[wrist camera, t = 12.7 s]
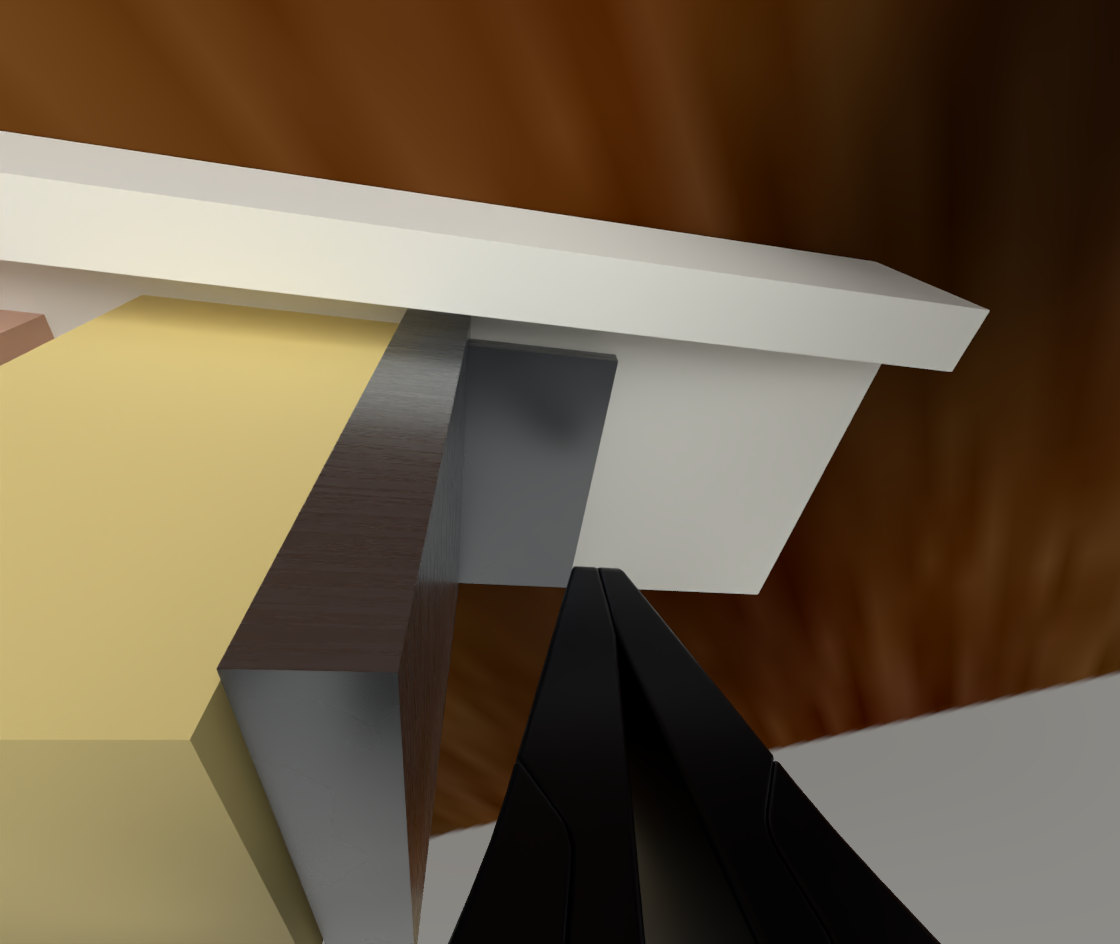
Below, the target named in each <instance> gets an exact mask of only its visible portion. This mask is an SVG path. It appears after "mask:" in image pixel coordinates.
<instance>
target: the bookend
mask: <svg viewBox="0 0 1120 944" xmlns="http://www.w3.org/2000/svg"><path fill="white" fill-rule="evenodd" d="M470 333H471V315H464V314H456V313H447V312H439V311H430V310H422V309H413V308H408V309H407V311H406V312H405V314H404V316H403V318H402V320H401V322H400V324H399V326H398V328H397V329H396V331H395V333H394V335H393V337H392V339H391V341H390V343H389V344H388V346H387V348H386V350H385V352H384V354H383V356H382V358H381V360H380V361H379V363H378V365H377V367H376V369H375V371H374V373H373V375H372V377H371V378H370V380H369V382H368V384H367V386H366V388H365V390H364V392H363V393H362V395H361V397H360V399H359V401H358V403H357V405H356V407H355V409H354V410H353V412H352V414H351V416H350V418H349V420H348V422H347V424H346V425H345V427H344V429H343V431H342V433H341V435H340V437H339V439H338V441H337V442H336V444H335V446H334V448H333V450H332V452H331V454H330V456H329V458H328V459H327V461H326V463H325V465H324V467H323V469H322V471H321V473H320V474H319V476H318V478H317V480H316V482H315V484H314V486H313V488H312V490H311V491H310V493H309V495H308V497H307V499H306V501H305V503H304V505H303V507H302V508H301V510H300V512H299V514H298V516H297V518H296V520H295V522H294V523H293V525H292V527H291V529H290V531H289V533H288V535H287V537H286V539H285V540H284V542H283V544H282V546H281V548H280V550H279V552H278V554H277V556H276V557H275V559H274V561H273V563H272V565H271V567H270V569H269V571H268V572H267V574H266V576H265V578H264V580H263V582H262V584H261V586H260V588H259V589H258V591H257V593H256V595H255V597H254V599H253V601H252V603H251V605H250V606H249V608H248V610H247V612H246V614H245V616H244V618H243V620H242V621H241V623H240V625H239V627H238V629H237V631H236V633H235V635H234V637H233V638H232V640H231V642H230V644H229V646H228V648H227V650H226V652H225V654H224V655H223V657H222V659H221V661H220V663H219V665H218V667H217V669H216V670H217V672H218V675H219V677H220V680H221V682H222V685H223V687H224V690H225V692H226V695H227V697H228V700H229V702H230V705H231V707H232V710H233V713H234V715H235V718H236V720H237V723H238V725H239V728H240V730H241V733H242V735H243V738H244V740H245V743H246V745H247V748H248V750H249V753H250V755H251V758H252V760H253V763H254V766H255V768H256V771H257V773H258V776H259V778H260V781H261V783H262V786H263V788H264V791H265V793H266V796H267V798H268V801H269V803H270V806H271V808H272V811H273V814H274V816H275V819H276V821H277V824H278V826H279V829H280V831H281V834H282V836H283V839H284V841H285V844H286V846H287V849H288V851H289V854H290V856H291V859H292V861H293V864H294V867H295V869H296V872H297V874H298V877H299V879H300V882H301V884H302V887H303V889H304V892H305V894H306V897H307V899H308V902H309V904H310V907H311V909H312V912H313V915H314V917H315V920H316V922H317V925H318V927H319V930H320V932H321V935H322V937H323V940H324V942H325V944H417V940H418V933H419V924H420V914H421V907H422V897H423V889H424V881H425V872H426V862H427V855H428V846H429V838H430V829H431V820H432V812H433V803H434V794H435V786H436V777H437V768H438V760H439V751H440V743H441V734H442V725H443V717H444V708H445V699H446V691H447V682H448V673H449V665H450V656H451V648H452V639H453V630H454V622H455V613H456V604H457V596H458V587H459V583H473V584H496V585H519V586H541V587H564V588H566V587H567V584H568V580H569V577H570V573H571V570H572V567H573V562H574V558H575V553H576V549H577V544H578V540H579V535H580V531H581V526H582V522H583V517H584V513H585V508H586V504H587V499H588V495H589V490H590V486H591V481H592V477H593V472H594V468H595V463H596V459H597V455H598V450H599V446H600V441H601V437H602V432H603V428H604V423H605V419H606V414H607V410H608V405H609V401H610V396H611V392H612V387H613V383H614V378H615V374H616V369H617V365H618V360H617V357H616V355H615V354H606V353H597V352H588V351H579V350H570V349H561V348H552V347H543V346H534V345H525V344H516V343H507V342H498V341H489V340H480V339H471V338H470Z"/></svg>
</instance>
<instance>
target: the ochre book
mask: <svg viewBox="0 0 1120 944" xmlns="http://www.w3.org/2000/svg"><path fill="white" fill-rule="evenodd" d="M399 324H400V323H391V322H382V321H373V320H364V319H355V318H346V317H337V316H328V315H319V314H310V313H301V312H292V311H283V310H275V309H266V308H257V307H248V306H239V305H230V304H221V303H212V302H203V301H194V300H185V299H176V298H167V297H158V296H149V295H141V296H139V297H137V298H135V299H133V300H131V301H129V302H127V303H125V304H123V305H121V306H119V307H117V308H115V309H113V310H111V311H109V312H107V313H105V314H103V315H101V316H99V317H97V318H95V319H93V320H91V321H89V322H87V323H85V324H83V325H81V326H79V327H77V328H75V329H73V330H71V331H69V332H67V333H65V334H63V335H61V336H59V337H57V338H55V339H53V340H51V341H49V342H47V343H45V344H43V345H41V346H39V347H37V348H35V349H33V350H31V351H29V352H27V353H25V354H23V355H21V356H19V357H17V358H15V359H13V360H11V361H9V362H7V363H5V364H3V365H1V366H0V944H322V942H323V937H322V935H321V932H320V930H319V927H318V925H317V922H316V920H315V917H314V915H313V912H312V909H311V907H310V904H309V902H308V899H307V897H306V894H305V892H304V889H303V887H302V884H301V882H300V879H299V877H298V874H297V872H296V869H295V867H294V864H293V861H292V859H291V856H290V854H289V851H288V849H287V846H286V844H285V841H284V839H283V836H282V834H281V831H280V829H279V826H278V824H277V821H276V819H275V816H274V814H273V811H272V808H271V806H270V803H269V801H268V798H267V796H266V793H265V791H264V788H263V786H262V783H261V781H260V778H259V776H258V773H257V771H256V768H255V766H254V763H253V760H252V758H251V755H250V753H249V750H248V748H247V745H246V743H245V740H244V738H243V735H242V733H241V730H240V728H239V725H238V723H237V720H236V718H235V715H234V713H233V710H232V707H231V705H230V702H229V700H228V697H227V695H226V692H225V690H224V687H223V685H222V682H221V680H220V677H219V675H218V672H217V670H216V669H217V667H218V665H219V663H220V661H221V659H222V657H223V655H224V654H225V652H226V650H227V648H228V646H229V644H230V642H231V640H232V638H233V637H234V635H235V633H236V631H237V629H238V627H239V625H240V623H241V621H242V620H243V618H244V616H245V614H246V612H247V610H248V608H249V606H250V605H251V603H252V601H253V599H254V597H255V595H256V593H257V591H258V589H259V588H260V586H261V584H262V582H263V580H264V578H265V576H266V574H267V572H268V571H269V569H270V567H271V565H272V563H273V561H274V559H275V557H276V556H277V554H278V552H279V550H280V548H281V546H282V544H283V542H284V540H285V539H286V537H287V535H288V533H289V531H290V529H291V527H292V525H293V523H294V522H295V520H296V518H297V516H298V514H299V512H300V510H301V508H302V507H303V505H304V503H305V501H306V499H307V497H308V495H309V493H310V491H311V490H312V488H313V486H314V484H315V482H316V480H317V478H318V476H319V474H320V473H321V471H322V469H323V467H324V465H325V463H326V461H327V459H328V458H329V456H330V454H331V452H332V450H333V448H334V446H335V444H336V442H337V441H338V439H339V437H340V435H341V433H342V431H343V429H344V427H345V425H346V424H347V422H348V420H349V418H350V416H351V414H352V412H353V410H354V409H355V407H356V405H357V403H358V401H359V399H360V397H361V395H362V393H363V392H364V390H365V388H366V386H367V384H368V382H369V380H370V378H371V377H372V375H373V373H374V371H375V369H376V367H377V365H378V363H379V361H380V360H381V358H382V356H383V354H384V352H385V350H386V348H387V346H388V344H389V343H390V341H391V339H392V337H393V335H394V333H395V331H396V329H397V328H398V326H399Z"/></svg>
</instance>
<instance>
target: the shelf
mask: <svg viewBox="0 0 1120 944" xmlns="http://www.w3.org/2000/svg"><path fill="white" fill-rule="evenodd" d="M141 295H149V296H158V297H167V298H176V299H185V300H194V301H203V302H212V303H221V304H230V305H239V306H248V307H257V308H266V309H275V310H283V311H292V312H301V313H310V314H319V315H328V316H337V317H346V318H355V319H364V320H373V321H382V322H391V323H400V322H401V320H402V318H403V316H404V314H405V312H406V311H407V309H408V308H413V309H422V310H430V311H439V312H447V313H456V314H464V315H471V333H470V338H471V339H480V340H489V341H498V342H507V343H516V344H525V345H534V346H543V347H552V348H561V349H570V350H579V351H588V352H597V353H606V354H615V355H616V357H617V360H618V365H617V369H616V374H615V378H614V383H613V387H612V392H611V396H610V401H609V405H608V410H607V414H606V419H605V423H604V428H603V432H602V437H601V441H600V446H599V450H598V455H597V459H596V463H595V468H594V472H593V477H592V481H591V486H590V490H589V495H588V499H587V504H586V508H585V513H584V517H583V522H582V526H581V531H580V535H579V540H578V544H577V549H576V553H575V558H574V562H573V567H575V566H585V567H596V568H599V567H605V568H619V569H621V570H623V571H624V572H625V573H626V575H627V576H628V577H629V578H630V580H631V581H632V582H633V583H634V585H635V586H636V587H637V588H638V589H645V590H668V591H690V592H712V593H735V594H757V595H758V593H759V592H760V590H761V588H762V586H763V584H764V582H765V580H766V579H767V577H768V575H769V573H770V571H771V569H772V567H773V565H774V564H775V562H776V560H777V558H778V556H779V554H780V552H781V551H782V549H783V547H784V545H785V543H786V541H787V539H788V537H789V536H790V534H791V532H792V530H793V528H794V526H795V524H796V522H797V521H798V519H799V517H800V515H801V513H802V511H803V509H804V508H805V506H806V504H807V502H808V500H809V498H810V496H811V494H812V493H813V491H814V489H815V487H816V485H817V483H818V481H819V480H820V478H821V476H822V474H823V472H824V470H825V468H826V466H827V465H828V463H829V461H830V459H831V457H832V455H833V453H834V451H835V450H836V448H837V446H838V444H839V442H840V440H841V438H842V437H843V435H844V433H845V431H846V429H847V427H848V425H849V423H850V422H851V420H852V418H853V416H854V414H855V412H856V410H857V409H858V407H859V405H860V403H861V401H862V399H863V397H864V395H865V394H866V392H867V390H868V388H869V386H870V384H871V382H872V380H873V379H874V377H875V375H876V373H877V371H878V369H879V367H880V366H881V364H888V365H897V366H905V367H914V368H922V369H931V370H939V371H948V372H952V371H953V369H954V368H955V366H956V364H957V363H958V361H959V360H960V358H961V356H962V355H963V353H964V352H965V350H966V348H967V347H968V345H969V344H970V342H971V340H972V339H973V337H974V336H975V334H976V332H977V331H978V329H979V328H980V326H981V324H982V323H983V321H984V320H985V318H986V316H987V315H988V313H989V312H990V310H988V309H986V308H983V307H981V306H979V305H976V304H974V303H972V302H969V301H967V300H964V299H962V298H960V297H957V296H955V295H953V294H950V293H948V292H946V291H943V290H941V289H939V288H936V287H934V286H932V285H929V284H927V283H924V282H922V281H920V280H917V279H915V278H913V277H910V276H908V275H906V274H903V273H901V272H899V271H896V270H894V269H892V268H889V267H887V266H884V265H882V264H880V263H877V262H875V261H868V260H861V259H854V258H848V257H841V256H834V255H828V254H821V253H814V252H808V251H801V250H794V249H787V248H781V247H774V246H767V245H761V244H754V243H747V242H741V241H734V240H727V239H721V238H714V237H707V236H700V235H694V234H687V233H680V232H674V231H667V230H660V229H654V228H647V227H640V226H634V225H627V224H620V223H613V222H607V221H600V220H593V219H587V218H580V217H573V216H567V215H560V214H553V213H546V212H540V211H533V210H526V209H520V208H513V207H506V206H500V205H493V204H486V203H480V202H473V201H466V200H459V199H453V198H446V197H439V196H433V195H426V194H419V193H413V192H406V191H399V190H393V189H386V188H379V187H372V186H366V185H359V184H352V183H346V182H339V181H332V180H326V179H319V178H312V177H305V176H299V175H292V174H285V173H279V172H272V171H265V170H259V169H252V168H245V167H239V166H232V165H225V164H218V163H212V162H205V161H198V160H192V159H185V158H178V157H172V156H165V155H158V154H152V153H145V152H138V151H131V150H125V149H118V148H111V147H105V146H98V145H91V144H85V143H78V142H71V141H64V140H58V139H51V138H44V137H38V136H31V135H24V134H18V133H11V132H4V131H0V366H1V365H3V364H5V363H7V362H9V361H11V360H13V359H15V358H17V357H19V356H21V355H23V354H25V353H27V352H29V351H31V350H33V349H35V348H37V347H39V346H41V345H43V344H45V343H47V342H49V341H51V340H53V339H55V338H57V337H59V336H61V335H63V334H65V333H67V332H69V331H71V330H73V329H75V328H77V327H79V326H81V325H83V324H85V323H87V322H89V321H91V320H93V319H95V318H97V317H99V316H101V315H103V314H105V313H107V312H109V311H111V310H113V309H115V308H117V307H119V306H121V305H123V304H125V303H127V302H129V301H131V300H133V299H135V298H137V297H139V296H141ZM573 567H572V568H573Z"/></svg>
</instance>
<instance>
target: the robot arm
mask: <svg viewBox="0 0 1120 944" xmlns="http://www.w3.org/2000/svg"><path fill="white" fill-rule="evenodd" d="M773 760H774V758H773V755H772V754H771V752H770V751H769V750H768V749H767V748H766V746H765V745H764V744H763V743H762V741H761V740H760V739H759V738H758V736H757V735H756V734H755V733H754V731H753V730H752V729H751V728H750V727H749V725H748V724H747V723H746V722H745V720H744V719H743V718H742V717H741V715H740V714H739V713H738V712H737V710H736V709H735V708H734V707H733V706H732V704H731V703H730V702H729V701H728V699H727V698H726V697H725V696H724V694H723V693H722V692H721V691H720V690H719V688H718V687H717V686H716V685H715V683H714V682H713V681H712V680H711V678H710V677H709V676H708V675H707V673H706V672H705V671H704V670H703V669H702V667H701V666H700V665H699V664H698V662H697V661H696V660H695V659H694V657H693V656H692V655H691V654H690V652H689V651H688V650H687V649H686V648H685V646H684V645H683V644H682V643H681V641H680V640H679V639H678V638H677V636H676V635H675V634H674V633H673V631H672V630H671V629H670V628H669V627H668V625H667V624H666V623H665V622H664V620H663V619H662V618H661V617H660V615H659V614H658V613H657V612H656V611H655V609H654V608H653V607H652V606H651V604H650V603H649V602H648V601H647V599H646V598H645V597H644V596H643V594H642V593H641V592H640V591H639V590H638V588H637V587H636V586H635V585H634V583H633V582H632V581H631V580H630V578H629V577H628V576H627V575H626V573H625V572H624V571H623V570H621V569H619V568H605V567H599V568H596V567H585V566H575V567H573V568H572V570H571V573H570V577H569V580H568V584H567V587H566V591H565V594H564V597H563V601H562V604H561V608H560V611H559V615H558V618H557V621H556V625H555V628H554V632H553V635H552V639H551V642H550V645H549V649H548V652H547V656H546V659H545V663H544V666H543V669H542V673H541V676H540V680H539V683H538V687H537V690H536V693H535V697H534V700H533V704H532V707H531V710H530V714H529V717H528V721H527V724H526V728H525V731H524V734H523V738H522V741H521V745H520V748H519V752H518V755H517V759H516V763H515V765H514V768H513V771H512V774H511V778H510V781H509V785H508V788H507V792H506V795H505V798H504V801H503V804H502V807H501V810H500V813H499V816H498V819H497V822H496V825H495V828H494V832H493V835H492V838H491V841H490V843H489V846H488V848H487V851H486V853H485V856H484V858H483V861H482V863H481V866H480V868H479V871H478V873H477V876H476V879H475V881H474V884H473V886H472V889H471V891H470V894H469V896H468V898H467V901H466V903H465V906H464V908H463V911H462V912H461V915H460V917H459V919H458V922H457V924H456V927H455V929H454V931H453V933H452V936H451V938H450V941H449V943H448V944H941V943H940V942H939V941H938V940H937V939H936V938H935V937H934V936H933V935H932V934H931V933H930V932H929V931H928V930H927V929H926V927H924V925H923V924H922V923H921V922H920V921H919V920H918V919H917V918H916V917H915V916H914V915H913V914H912V913H911V912H910V910H909V909H908V908H907V907H906V906H905V905H904V904H903V903H902V902H901V901H900V900H899V899H898V898H897V897H896V896H895V895H894V893H893V892H892V891H891V890H890V889H889V888H888V887H887V886H886V885H885V884H884V883H883V882H882V881H881V880H880V879H879V878H878V877H877V875H876V874H875V873H874V872H873V871H872V870H871V869H870V868H869V867H868V866H867V864H866V863H865V862H864V861H863V860H862V859H861V858H860V857H859V856H858V855H857V854H856V853H855V851H854V850H853V849H852V848H851V847H850V846H849V845H848V844H847V843H846V841H844V839H843V838H842V837H841V836H840V835H839V834H838V833H837V831H836V830H835V829H833V827H832V826H831V825H830V823H829V822H828V821H827V820H826V819H825V817H824V816H823V815H822V814H821V813H820V812H819V810H818V809H817V808H816V807H815V806H814V804H813V803H812V802H811V801H810V800H809V799H808V797H807V796H806V795H805V794H804V793H803V791H802V790H801V789H800V788H799V787H798V786H797V784H796V783H795V782H794V780H793V779H792V778H791V777H790V776H789V774H788V773H787V772H786V771H785V769H784V768H783V767H782V766H781V764H780V763H779V762H777V761H774V762H773Z"/></svg>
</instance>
